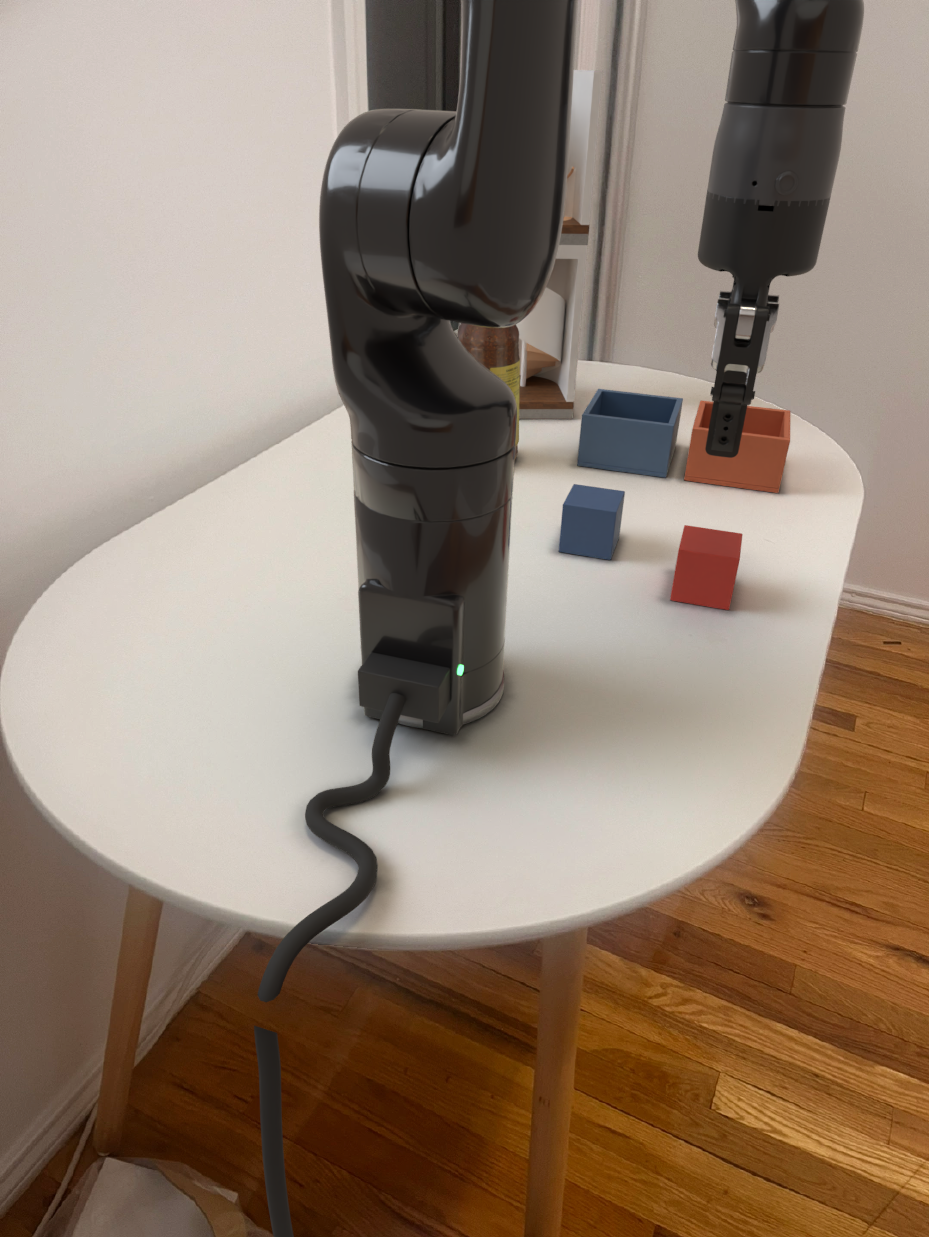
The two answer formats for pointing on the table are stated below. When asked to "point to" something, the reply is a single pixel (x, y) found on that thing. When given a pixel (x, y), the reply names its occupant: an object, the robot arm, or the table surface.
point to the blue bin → (629, 432)
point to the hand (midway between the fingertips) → (724, 433)
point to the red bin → (742, 451)
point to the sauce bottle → (496, 355)
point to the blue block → (591, 521)
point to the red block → (706, 567)
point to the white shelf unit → (563, 274)
